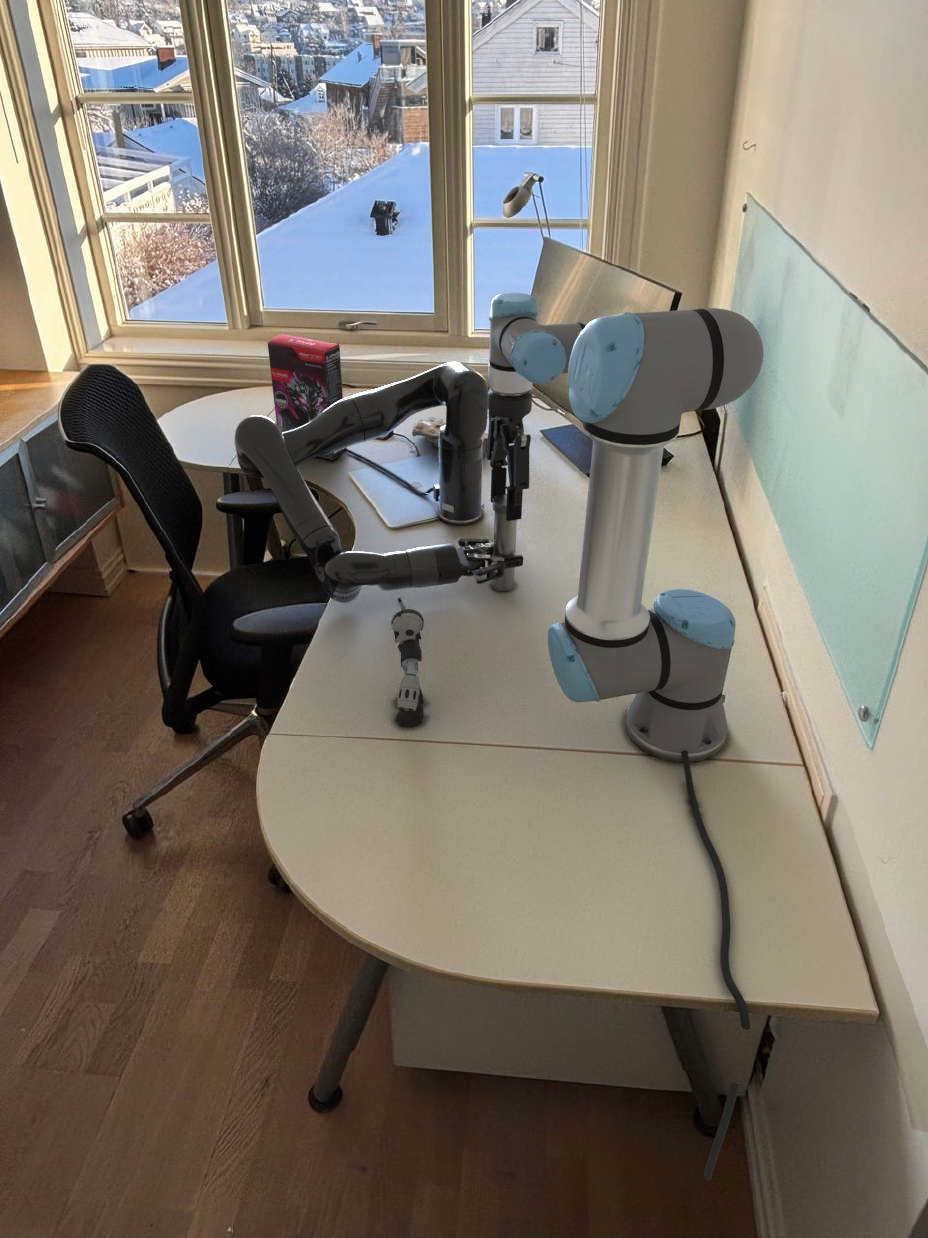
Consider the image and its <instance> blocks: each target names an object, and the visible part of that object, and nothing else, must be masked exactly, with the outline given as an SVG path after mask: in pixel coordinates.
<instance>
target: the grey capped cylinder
mask: <svg viewBox="0 0 928 1238" xmlns="http://www.w3.org/2000/svg"><path fill="white" fill-rule="evenodd" d="M493 515H494V516H493V517H494V519H493V520H494V521H493V543H494V549H493V557H504V556H511V555H516V549H517V548H516V547H517V546H516V545H517V529H518V528H517V526H518V525H517V524H518V520H512V521H507V520H506V515H502V514H498V513H496V512H495V511H494V514H493ZM496 563H498V562H493V563H492V565H493V564H496ZM515 568H516V567H512V568H506V569H504V576H502V577H499V578H497V579H494V580H492V584H491V585H492V586H491V587H492V588H493V589H494V590H496V591H498V592H509V591H512V590H513V589H514V587H515V572H516V571H515ZM496 572H497V571H494V573H496Z"/></svg>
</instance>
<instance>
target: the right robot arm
mask: <svg viewBox="0 0 928 1238" xmlns="http://www.w3.org/2000/svg"><path fill="white" fill-rule="evenodd" d="M537 305H538V302H537V299H536V298H535V297H534V296H533V295H531V294H528V293H524V292H503V293H500V294H496V295H495V296H494V297H493V298H492V300H491V302H490V311H489V317H488V321H489V349H488V350H489V351H488V352H489V353H488V369H487V370H488V372H487V375H488V376H487V377H488V378H487V386H488V430H487V434H488V443H487V449H486V460H487V461H489V466H490V468H491V472H490V473H491V475H490V502H491V503H492V504H493V498H494V497H495V496H497V495H499V494H507V505H506V520H507V521H512V520H517V521H518V520H522V514H523V513H522V512H523V496H524V495H523V494H524V490H528V489H530V446H531V441H532V437H531V434H530V433H528V434H525V433H524V432H525V427H524V420H523V419H524V418H525V417H526V416H528V415H529V414H530V413H531V412H532V409H533V391H532V389H533V384H536V385H547V384H549V383H551V382H553V381H555V380H556V379H558V378H559V377H560V376H561V374H567V387H568V388H569V391H568V400H569V405H570V408H571V411H572V413H573V415H574V416H575V417H576V418H577V419H578V420H579V421H581V422H582V423H581V427H582V430H583V432H584V433H586V434H587V436H588V437H589V438H590V439H591V440H592V448H591V459H590V468H589V469H590V470H589V478H588V479H589V480H588V490H587V499H586V510H585V518H584V519H585V520H584V531H583V539H582V540H583V541H582V550H581V559H580V571H579V581H578V592H577V595H576V596H574V597H572V598H571V599H570V600H569V601H568V602H567V604H566V607H565V611H564V621H562V622H559V621H557V622H556V623H553V624H551V625H550V626H549V628H548V631H547V648H548V654H549V658H550V663H551V666H552V670H553V673H554V676H555V678H556V681H557V683H558V685H559V687H560V689H561V691H562V692H563V694H564V696H566V698H567V699H568V700H570V701H572V702H573V703H588V702H596V703H597V702H600V701H603V700H609V699H615V698H619V697H624V696H630V695H634V697H633V699H632V701H631V702H630V704H629V706H628V708H627V711H626V719H625V728H626V732H627V734H628V736H629V738H630V739H631V741H632V742H634V744H636V745H637V746H638V747H639V748H640V749H641V750H643V751H645V752H646V753H648V754H650V755H651V756H654V757H656V758H659V759H662V760H666V761H670V762H675V763H682V765H683V770H684V771H683V772H684V778H685V783H686V785H685V786H686V790H687V794H688V799H689V803H690V808H691V811H692V814H693V818H694V821H695V824H696V827H697V830H698V833H699V836H700V838H701V840H702V843H703V845H704V847H705V849H706V852H707V853H708V855H709V857H710V860H711V862H712V864H713V867H714V870H715V875H716V877H717V881H718V886H719V887H718V888H719V894H720V907H721V908H720V909H721V939H720V940H721V941H720V955H719V956H720V958H719V959H720V967H721V973H722V977H723V980H724V983H725V985H726V987H727V989H728V991H729V992H730V994H731V996H732V998H733V999H734V1001H735V1004H736V1006H737V1009H738V1013H739V1019H740V1026H741V1028H742V1029H743V1030H745V1031H748V1030H750V1028H751V1021H750V1014H749V1009H748V1006H747V1002H746V1000H745V997H744V996H743V995H742V992H741V991H740V989H739V987H738V986H737V984H736V982H735V981H734V978H733V976H732V972H731V968H730V967H731V966H730V942H731V913H730V899H729V891H728V885H727V884H728V883H727V880H726V876H725V872H724V869H723V865H722V862H721V860H720V857H719V855H718V853H717V851H716V849H715V847H714V845H713V843H712V841H711V838H710V836H709V835H708V831H707V829H706V827H705V826H706V825H705V823H704V821H703V817H702V814H701V812H700V807H699V803H698V800H697V795H696V791H695V787H694V782H693V775H692V769H691V763H694V762H700V761H703V760H706V759H709V758H711V757H714V755H716V754H718V752H720V751H721V750H722V748H723V747H724V744H725V743H726V740H727V739H726V738H727V734H728V721H727V716H726V712H725V708H724V707H725V706H724V704H725V701H726V695H725V694H723V692H724V686H725V682H726V678H727V672H728V668H729V664H730V659H731V654H732V651H733V650H732V649H733V647H734V645H735V637H736V636H735V635H736V618H735V616H734V614H733V612H732V611H731V609H730V608H729V607H728V606H727V605H726V604H725V603H723V602H722V601H720V600H719V599H717V598H715V596H714V597H713V596H711V595H709V594H707V593H704V592H701V591H699V590H698V591H697V590H694V589H689V588H688V589H687V588H673V589H667V590H664V591H663V592H661V593H660V594H659V595H657V597H656V599H655V600H654V602H653V608H652V609H648V608H647V607H646V606H645V605H644V604H643V603H642V600H643V593H644V585H645V579H646V574H647V573H646V572H647V566H648V558H649V552H650V544H651V538H652V532H653V531H652V530H653V524H654V517H655V510H656V503H657V496H658V489H659V483H660V477H661V469H662V462H663V456H664V448H665V446H668V445H669V444H670V443H671V442H673V441H674V440H675V439H676V438H677V437H679V436H678V435H679V433H680V427H681V421H682V415H683V414H685V413H691V412H700V411H707V410H714V409H718V408H721V407H724V406H726V405H728V404H730V403H732V402H735V401H736V400H738V399H740V398H741V397H742V396H743V395H744V394H745V393H747V392H748V390H750V389H751V387H752V386H753V385H754V384H755V382H756V380H757V378H758V377H759V374H760V372H761V369H762V366H763V363H764V343H763V341H762V338H761V334H760V332H759V331H758V329H757V328H756V326H755V325H754V324H753V323H752V322H751V321H750V320H749V319H748V318H747V317H745V316H744V315H742V314H739V313H738V312H736V311H733V310H729V309H724V308H717V307H703V308H700V307H699V308H694V309H679V310H677V309H676V310H665V311H649V312H648V311H647V312H631V311H627V312H621V313H618V314H614V315H606V316H601V317H597V318H595V319H593V320H591V321H583V322H565V323H552V324H541V323H540V322H538V321H537V318H538V315H539V313H538V306H537ZM505 466H506V467H505ZM507 473H508V481H509V485H508V486H507ZM728 1087H729V1088H728V1092H727V1095H726V1099H725V1104H724V1108H723V1111H722V1115H721V1118H720V1121H719V1123H718V1127H717V1131H716V1133H715V1136H714V1139H713V1143H712V1145H711V1149H710V1151H709V1154H708V1158H707V1161H706V1164H705V1168H704V1171H703V1179H704V1180H705V1181H709V1182H710V1181H711V1180H712V1177H713V1173H714V1171H715V1170H714V1169H715V1167H716V1163H717V1161H718V1157H719V1154H720V1151H721V1149H722V1145H723V1143H724V1139H725V1137H726V1133H727V1131H728V1128H729V1124H730V1121H731V1119H732V1115H733V1112H734V1109H735V1104H736V1101H737V1096H738V1092H739V1087H740V1084H739V1083H737V1082H731V1081H730V1082H729V1086H728Z"/></svg>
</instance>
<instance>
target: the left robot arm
mask: <svg viewBox="0 0 928 1238" xmlns="http://www.w3.org/2000/svg"><path fill="white" fill-rule="evenodd" d="M488 391H489V386H488V382H487V380H486V379H485V377H484V376H483V375H482V374H480V373H479V372H478V371H477V370H475V369H474V368H473V367H471V366H470V365H468V364H467V363H465V362H461V361H449V362H445V363H443V364H441V365H438V366H436V367H433V368H431V369H429V370H427V371H424V372H422V373H419V374H417V375H415V376H412V377H410V378H407V379H405V380H401V381H397V382H393V383H390V384H387V385H384V386H381V387H377V388H373V389H370V390H366V391H363V392H359V393H356V394H353V395H350V396H347V397H343V399H341V400H339V401H337V402H335V403H334V404H332V405H331V406H329V407H328V408H326V409H325V410H324V411H322V412H321V413H320V414H319V415H317V416H316V417H315V418H314V419H312V420H311V421H309V422H308V423H306V424H305V425H303V426H301V427H298V428H296V429H293V430H290V431H287V432H283V433H282V431H281V429H280V428H279V426H278V425H277V424H276V421H274V420H272V419H271V418H269V417H268V416H266V415H265V416H264V415H258V414H257V415H255V414H254V415H250V416H247V417H245V418H244V419H242V420H241V421H240V422H239V423H238V425H237V426H236V429H235V432H234V439H233V441H234V442H233V443H234V449H235V453H236V459H237V462H238V465H239V468H240V470H241V471H242V472H243V473H244V474H246V475H247V476H249V477H252V478H255V479H256V478H257V479H264V480H265V481H266V483H267V484H268V487H269V488H270V490H271V492H272V493H273V496H274V498H275V500H276V502H277V504H278V507H279V509H280V512H281V513H282V516H283V517H284V520H285V522H286V524H287V526H288V528H289V530H290V531H291V533H292V534H293V537H294V538H295V540H296V541H297V543H298V544H299V546H300V547H301V549H302V550H303V552H304V553H305V555H306V557H307V558H308V560H309V563H310V565H311V567H312V569H313V572H314V574H315V577H316V579H317V580H318V582H319V585H320V586H321V588H322V590H323V592H324V593H325V595H327V596H328V597H329V598H330V599H331V600H332V601H335V602H337V603H341V604H346V603H348V604H349V603H350V602H353V601H354V600H356V599H357V597H358V596H359V595H360V593H361V590H362V588H363V587H364V586H377V587H378V588H379V589H380V590H381V591H385V592H389V591H390V592H391V591H398V590H405V589H413V588H418V589H419V588H429V587H436V586H442V585H450V584H456V583H458V582H459V580H460V578H461V577H473V578H474V579H475V584H478V585H481V584H485V583H487V582H490V581H493V580H494V579H497V578H499V577H502V576H504V569H506V568H512V567H515V568H518V567H522V566H523V565H524V556H523V555H522V554H520V553H519V554H515V555H511V556H504V557H493V549H494V542H490V539H489V538H478V537H477V538H476V537H475V538H472V537H471V538H468V537H459V538H458V539H457V547H456V546H455V544H453V543H452V542H447V543H438V544H431V545H423V546H417V547H413V548H409V549H405V550H404V549H403V550H397V551H389V552H384V553H380V552H372V551H359V550H358V551H357V550H348V551H344V550H343V548H342V544H341V540H340V535H339V534H338V531H337V530H336V529H335V526H334V525H333V524H332V522H331V521H330V519H329V518H328V516H327V514H326V513H325V511H324V510H323V508H322V507H321V506H320V504H319V502H318V500H317V499H316V497H315V495H314V494H313V493H312V491H311V490H310V488H309V486H308V484H307V483H306V481H305V480H304V478H303V476H302V474H301V472H300V471H299V469H298V467H297V466H299V465H301V464H304V463H306V462H309V461H311V460H313V459H316V458H320V457H319V456H322V455H325V454H328V453H331V452H334V451H337V450H340V449H343V448H346V447H347V452H346V453H347V454H350V455H352V456H355V457H357V458H359V459H361V460H363V461H364V462H367V463H368V464H370V465H372V466H374V467H376V468H378V469H379V470H381V471H382V472H384V473H386V474H387V475H390V476H391V477H393V478H394V479H396V480H397V481H399V482H401V483H402V484H403V485H405V486H406V487H408V488H409V489H410V490H411V491H412V492H414V493H415V494H417V495H418V496H422V497H423V496H428V495H429V494H431V492H432V493H433V496H432V497H433V499H434V502H437V503H438V517H439V519H440V520H441V521H443V522H445V523H447V524H451V525H456V526H457V525H458V526H463V525H471V524H474V523H476V522H478V521H480V519H481V518H482V516H483V510H482V503H483V502H482V499H483V498H482V497H483V457H482V448H483V435H484V433H486V430H487V426H488V416H489V414H488V412H489V410H488ZM437 407H445V422H446V424H445V425H443V426H442V427H441V428H440V430H439V447H438V484H433V485H432V486H433V487H430V488H429V489H427V490H426V491H425V492H423V491H420V490H418V489H416V487H414V486H413V485H412V484H411V483H409V482H408V481H407V480H405V479H404V478H402V477H400V476H399V475H397V474H396V473H394V472H393V471H391V470H389V469H388V468H386V467H384V466H382V465H381V464H379V463H376V462H375V461H374V460H371V459H369V458H367V457H365V456H364V455H362V454H359V453H358V452H355V451H353V450H352V449H349V447H352V446H356V445H359V444H363V443H366V442H368V441H372V440H376V439H378V438H380V437H383V436H386V435H388V434H389V433H391V432H393V431H394V430H395V429H397V428H398V427H399V426H400V425H401V424H403V423H404V422H405V421H406V420H407V419H409V418H410V417H411V416H413V415H415V414H417V413H420V412H423V411H425V410H428V409H432V408H437ZM425 493H429V494H425ZM486 562H487V564H486ZM493 562H498V563H496V564H493ZM486 565H487V566H486ZM494 571H497V572H496V573H494Z"/></svg>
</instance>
